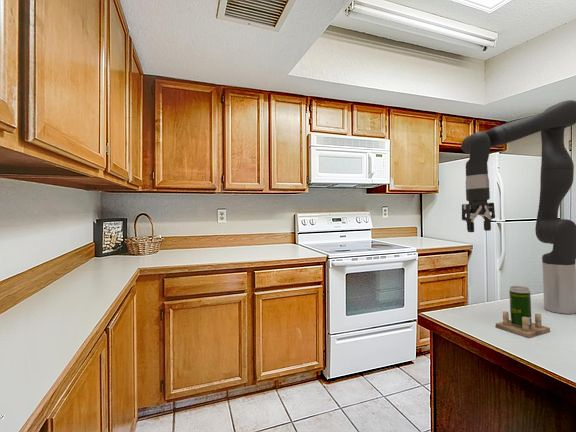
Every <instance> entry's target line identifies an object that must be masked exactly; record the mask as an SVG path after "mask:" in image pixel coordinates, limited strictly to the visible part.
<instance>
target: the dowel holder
mask: <svg viewBox="0 0 576 432" xmlns="http://www.w3.org/2000/svg"><path fill="white" fill-rule="evenodd" d="M542 323H543V322H542V314H541V313H534V322H532V325H531V327H530V328H529V318H528V317H522V328H519V327H515V326H513V325H512V323H511V319H510V316H509V311H506V310H504V311H502V321H499V322H497V323H495V328H497V329H500V330H503V331H506V332H509V333H512V334H515V335H518V336H522V337H524V338H527V339H531V338H533V337H537V336H538V337H539V336H541V335H544V334H547V333H550V332H551V328H550V327H548V326H544V325H543V324H542Z"/></svg>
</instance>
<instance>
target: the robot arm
mask: <svg viewBox="0 0 576 432" xmlns="http://www.w3.org/2000/svg"><path fill="white" fill-rule="evenodd" d="M575 124H576V100H573V99H572V100H571V99H568V100H564V101H563V100H562V101H560V102H558V103H556V104H554V105H551V106H549V107H548V108H546V109H545V110H544V111H542V112H539V113H536V114H534V115H530V116H527V117H524V118H519V119H517V120H514V121H510V122H507V123H506V122H505V123H503V124H501V125H497V126H495V127H492V128H490V129H488V130H484V131H476V132H474V133H473V134H470V135H468V136H466V137H464V139H463V140H462V142H461V144H460V147H461V150H462V152H464V153H465V154H468V155H469V159H468V160H467V161H466V163H465V199H466V201H467V202H468V203H463V204H461V220H462V221H465V222H466V230H467V232H468V233H474V232H475V219H476V218H477V217H478V216H480V217H482V220H483V231H486V232H490V231H491V230H492V224H491V223H492V220H493V219H495V218H496V210H495V203H494V202H488V200H490V199H491V195H490V194H491V193H490V179H489V166H488V161H489V157H490V151H491V148H494V147H498V146H503V145H505V144H509V143H511V142H512V143H513V142H514V141H518V140H521V139H523V138H526V137H529V136H531V135H533V134H536V133H539V132H540V137H541V138H540V139H541V163H540V183H539V184H540V185H539V186H540V187H539V189H540V190H539V202H538V203H539V204H538V210H537V215H536V222H535V236H536V238H537V240H538V241H539V242H541V243H543V244H549V245H552V250H551V251H550V252H547V253H544V254H542V255H541V259H542V261H541V262H542V282H543V286H542V287H543V308H544V309H545V310H547V312H548V311H549V312H551V313H552V312H553V313H558V314H564V315H569V314H570V315H573V314H576V222H575V221H573V220H570V219H566V218H563V219H562V218H558V217H559V209H560V205H561V203H562V201H563V200H564V198H565V196H566V195H567V194H568V192H569V191H570V189H571V187H572V186H573V183H574V174H575V171H574V169H575V165H574V162H573V159H572V157H571V156H570V153H569V152H568V151H567V148H566V146H565V143H564V142H565V140H564V137H565V129H566V128H569V127H572V126H574V125H575Z"/></svg>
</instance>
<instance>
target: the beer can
mask: <svg viewBox="0 0 576 432" xmlns="http://www.w3.org/2000/svg"><path fill="white" fill-rule="evenodd" d="M531 299H532V298H531V291H530V288H529V287H527V286H524V285H523V286H521V285H511V286H510V287H509V307H510V309H509V311H510V320H511V323H512V325H513V326H515V327H519V328H522V317H528V318H529V328H530V327H531V325H532V323H533V321H532V319H533V318H532V300H531Z"/></svg>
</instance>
